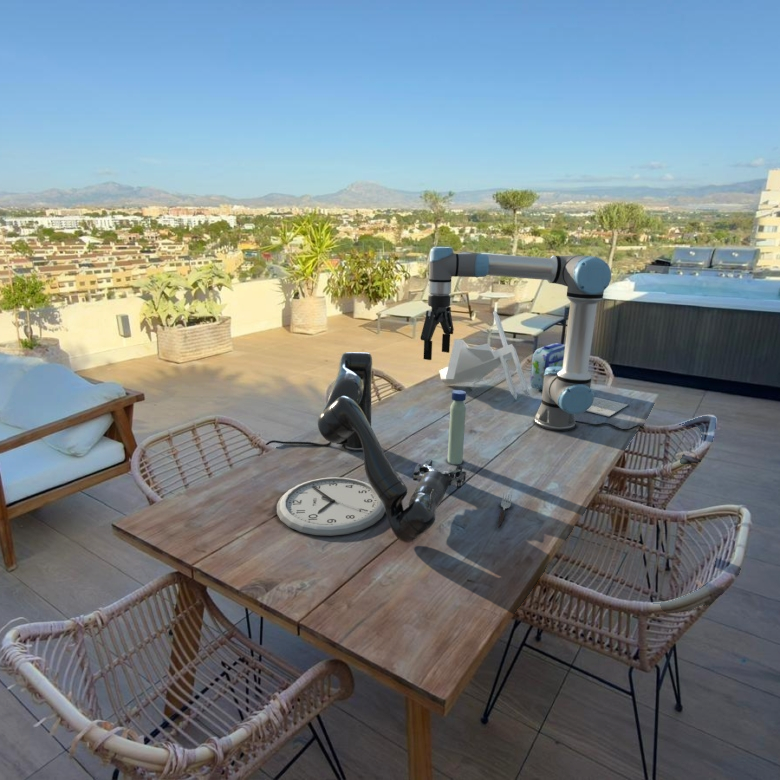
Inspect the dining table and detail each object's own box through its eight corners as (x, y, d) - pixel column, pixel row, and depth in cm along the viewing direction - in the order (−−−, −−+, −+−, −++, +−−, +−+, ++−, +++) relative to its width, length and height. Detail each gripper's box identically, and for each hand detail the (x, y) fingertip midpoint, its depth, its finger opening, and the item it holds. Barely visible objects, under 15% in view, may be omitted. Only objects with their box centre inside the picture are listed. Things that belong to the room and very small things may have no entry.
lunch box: (546, 395, 240) (551, 350, 234) (526, 389, 248) (530, 346, 241) (573, 384, 258) (578, 342, 252) (553, 379, 265) (558, 339, 259)
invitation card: (608, 416, 214) (573, 407, 224) (608, 416, 214) (573, 408, 224) (628, 404, 229) (594, 396, 238) (628, 405, 229) (594, 397, 238)
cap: (461, 402, 162) (462, 394, 161) (449, 399, 164) (449, 392, 163) (467, 398, 165) (468, 391, 165) (455, 396, 168) (456, 389, 167)
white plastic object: (461, 429, 252) (437, 405, 227) (444, 352, 274) (420, 323, 250) (535, 404, 240) (518, 377, 215) (510, 326, 262) (492, 293, 237)
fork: (493, 528, 133) (493, 521, 132) (502, 499, 147) (503, 492, 147) (503, 530, 132) (504, 523, 131) (511, 500, 146) (512, 494, 146)
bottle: (458, 465, 168) (462, 396, 161) (444, 462, 170) (448, 393, 163) (464, 460, 172) (469, 392, 165) (451, 456, 174) (455, 390, 167)
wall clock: (392, 527, 129) (268, 531, 127) (391, 533, 130) (269, 537, 127) (383, 473, 158) (282, 475, 155) (383, 478, 158) (282, 480, 156)
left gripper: (405, 497, 143) (421, 472, 157) (456, 507, 138) (468, 480, 153) (405, 473, 140) (422, 449, 155) (458, 482, 136) (470, 457, 150)
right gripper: (446, 290, 188) (443, 347, 194) (411, 297, 168) (409, 361, 174) (465, 291, 184) (461, 350, 191) (431, 299, 164) (429, 364, 170)
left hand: (445, 464), depth 154 cm, fingers open, 8 cm apart
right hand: (436, 355), depth 182 cm, fingers open, 13 cm apart
